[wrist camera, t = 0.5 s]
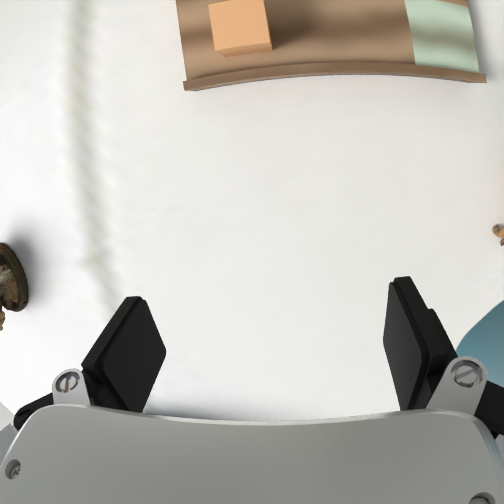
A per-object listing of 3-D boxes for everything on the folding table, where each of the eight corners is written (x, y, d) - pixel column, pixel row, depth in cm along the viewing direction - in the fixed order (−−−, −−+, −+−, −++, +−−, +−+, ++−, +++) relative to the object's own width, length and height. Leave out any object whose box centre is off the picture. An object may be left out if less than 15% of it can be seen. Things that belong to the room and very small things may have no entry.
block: (219, 16, 26) (208, 4, 22) (266, 9, 26) (262, -5, 21) (225, 57, 29) (214, 50, 24) (272, 50, 28) (270, 42, 23)
